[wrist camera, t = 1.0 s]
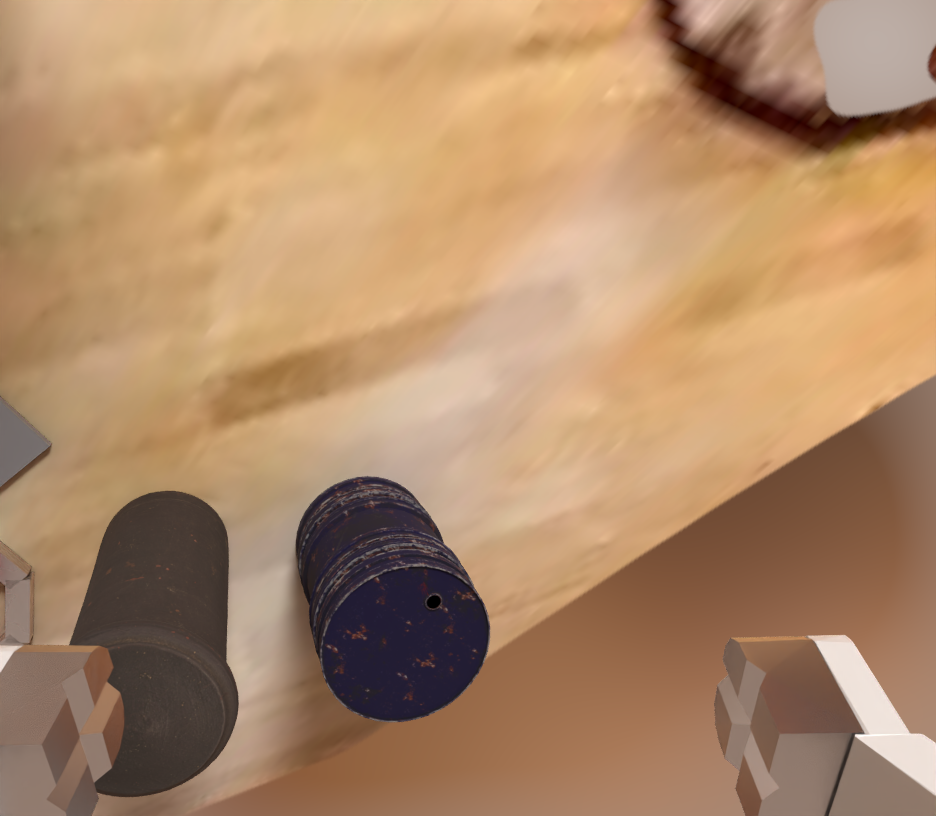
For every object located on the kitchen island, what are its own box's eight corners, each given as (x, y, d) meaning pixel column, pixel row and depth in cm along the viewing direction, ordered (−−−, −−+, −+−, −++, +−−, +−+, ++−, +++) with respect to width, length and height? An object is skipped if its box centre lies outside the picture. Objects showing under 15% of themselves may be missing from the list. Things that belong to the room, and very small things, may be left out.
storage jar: (386, 621, 61) (435, 746, 47) (268, 571, 57) (284, 691, 44) (453, 508, 60) (523, 602, 46) (338, 451, 57) (377, 534, 43)
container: (106, 618, 55) (48, 834, 36) (86, 493, 53) (14, 656, 34) (238, 597, 57) (247, 790, 39) (225, 477, 55) (228, 621, 36)
